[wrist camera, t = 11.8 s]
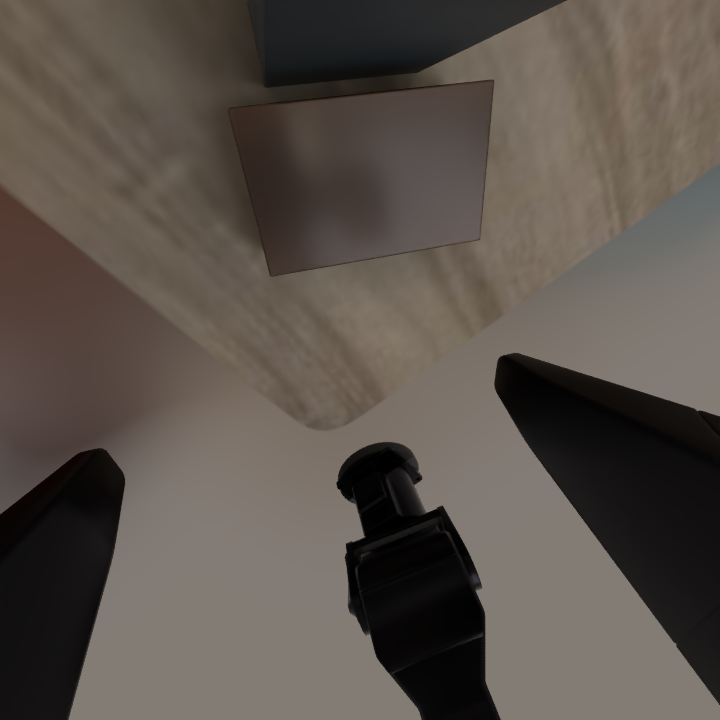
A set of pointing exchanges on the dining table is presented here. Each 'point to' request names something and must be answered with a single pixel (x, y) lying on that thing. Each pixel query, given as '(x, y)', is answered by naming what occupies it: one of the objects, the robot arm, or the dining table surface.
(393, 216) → the metal block
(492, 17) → the bin
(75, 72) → the dining table surface
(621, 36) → the dining table surface
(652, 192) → the dining table surface
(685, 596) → the robot arm
